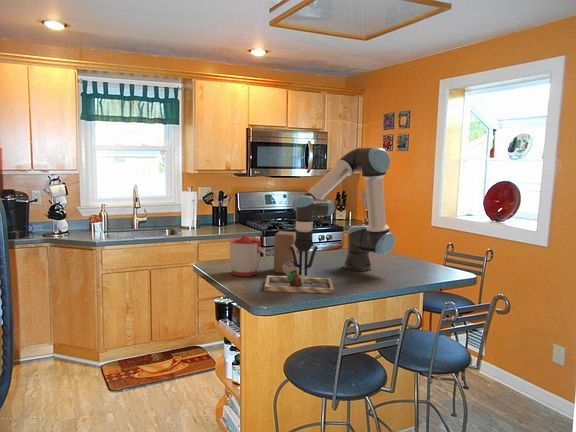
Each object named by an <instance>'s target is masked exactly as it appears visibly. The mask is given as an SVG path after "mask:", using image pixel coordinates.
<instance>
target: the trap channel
mask: <svg viewBox="0 0 576 432" xmlns="http://www.w3.org/2000/svg"><path fill="white" fill-rule="evenodd" d="M270 282H280V283H281V282H283V283H288V282H289V280H288V278H287V276H285V275H282V276H281V275H266V279H265V283H264V289H263V291H264V292H281V293H282V292H284V293H312V294H314V293H315V294H334V293H335V288H334V286H333V281H332V278H327V277H326V278H325V277H324V278H323V277H304V284H306V283H307V284H308V283H310V284H311V286H309V287H308V286H300V287H291V285H274V284H273V285H271V284H270Z"/></svg>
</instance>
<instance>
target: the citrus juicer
mask: <svg viewBox="0 0 576 432" xmlns="http://www.w3.org/2000/svg"><path fill="white" fill-rule="evenodd" d="M228 242H229V265H230V266H229V267H230V269H231V273H232V274H233V275H234V276H235V275H236V276H237V277H252V276H255V275H256V274H257V273H258V271H259V266H260V263H261V253H264V252H265V248H264V247H262V241H261V239H258V238H255V237H254V238H252V237H249V235H247V234H243V235H242V236H241V237H236V238H231V239H229V241H228Z"/></svg>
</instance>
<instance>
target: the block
mask: <svg viewBox="0 0 576 432" xmlns="http://www.w3.org/2000/svg"><path fill="white" fill-rule="evenodd" d="M295 239H296V231H282V230H281V231H278V232H276V233H275V234H274V247H273V248H274V249H273V250H274V251H273V272H274V273H279V274H285V272H283V265H284V264H286V263H287V262H290V261H292V260H294V258H293V254H292V251H291V249H290V245H293V244H294V242H295ZM294 250H295V254H296V256H298V255H297V254H298V253H297V250H298V249H297V247H296V246H295V249H294Z"/></svg>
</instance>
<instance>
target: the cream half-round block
mask: <svg viewBox="0 0 576 432" xmlns="http://www.w3.org/2000/svg"><path fill="white" fill-rule="evenodd" d="M283 272H285V273H284V274H285V275H286V276H287V278H288V280H289V286H290V287H303V283H301V275H299V268H298V267H295V263H294V260H292V261H290V262H287V263H286V264H284V265H283Z"/></svg>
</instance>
